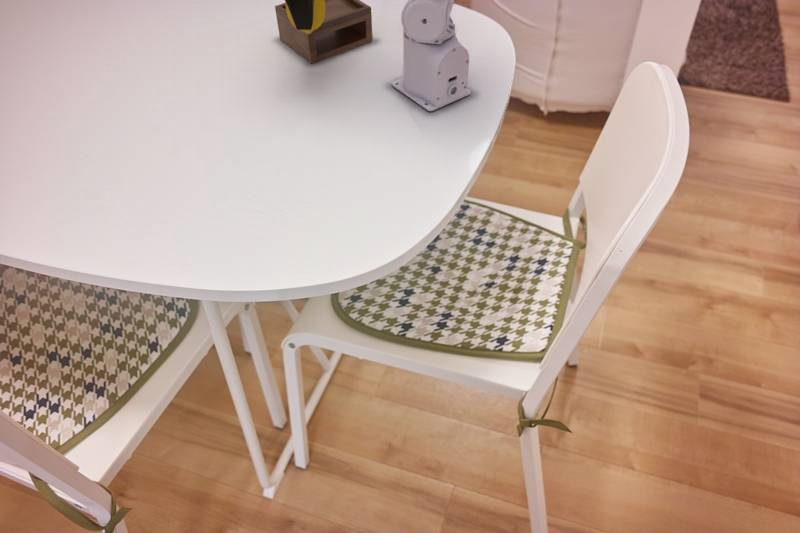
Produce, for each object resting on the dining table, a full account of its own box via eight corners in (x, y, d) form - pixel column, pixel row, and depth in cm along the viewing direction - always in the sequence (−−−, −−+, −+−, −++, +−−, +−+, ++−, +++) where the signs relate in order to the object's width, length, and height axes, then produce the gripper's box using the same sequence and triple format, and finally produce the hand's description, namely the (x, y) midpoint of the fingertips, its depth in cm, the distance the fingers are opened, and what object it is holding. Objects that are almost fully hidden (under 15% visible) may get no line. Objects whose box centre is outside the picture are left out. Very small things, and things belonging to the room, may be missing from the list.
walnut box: (372, 41, 102) (371, 7, 98) (311, 63, 97) (307, 28, 93) (339, 20, 108) (337, -14, 103) (280, 40, 103) (274, 5, 98)
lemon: (332, 38, 88) (327, -19, 82) (295, 45, 86) (287, -12, 81) (321, 22, 91) (315, -34, 85) (285, 29, 90) (277, -28, 84)
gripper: (273, -105, 82) (288, -4, 92) (251, -66, 73) (270, 42, 82) (325, -105, 82) (334, -4, 92) (310, -66, 72) (322, 43, 82)
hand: (307, 18), depth 87 cm, fingers closed on lemon, 5 cm apart
